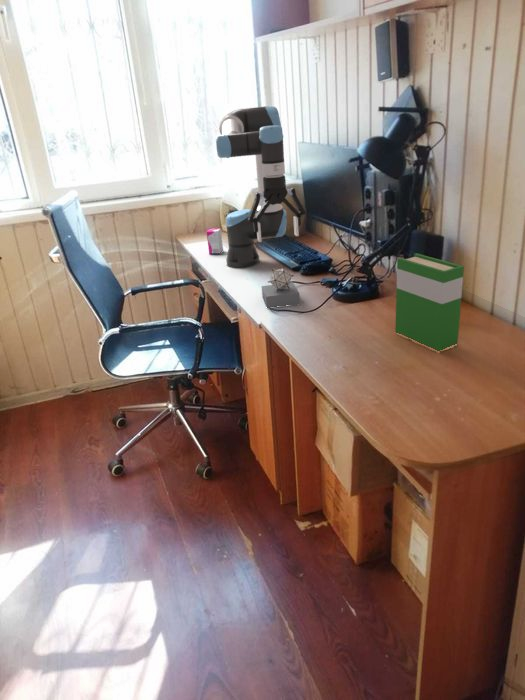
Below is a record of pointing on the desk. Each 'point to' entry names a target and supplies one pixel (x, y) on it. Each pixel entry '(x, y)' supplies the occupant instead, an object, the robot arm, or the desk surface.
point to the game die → (280, 278)
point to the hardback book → (429, 300)
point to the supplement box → (214, 241)
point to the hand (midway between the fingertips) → (278, 238)
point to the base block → (280, 296)
